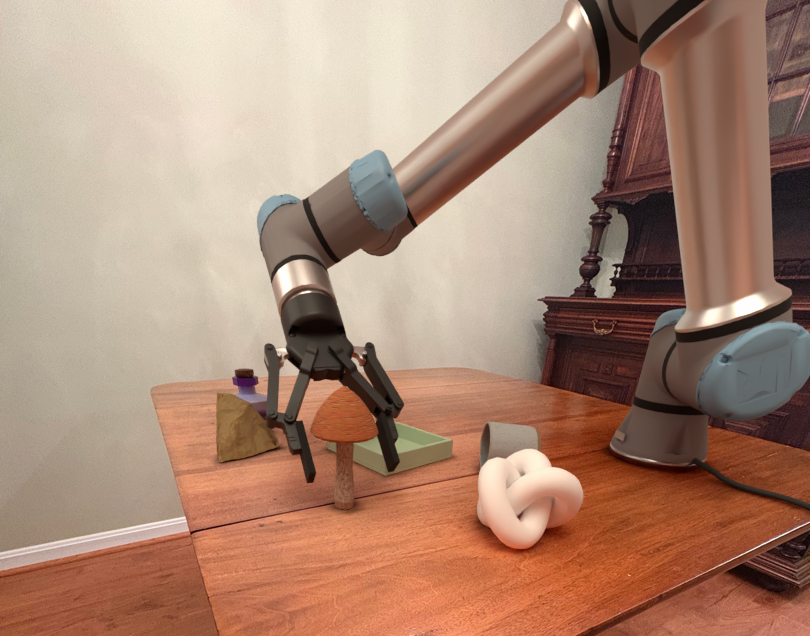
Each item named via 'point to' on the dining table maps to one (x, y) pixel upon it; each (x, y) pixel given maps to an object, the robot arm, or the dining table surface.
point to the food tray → (402, 450)
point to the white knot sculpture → (525, 497)
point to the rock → (240, 429)
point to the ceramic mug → (506, 440)
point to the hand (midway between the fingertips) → (354, 472)
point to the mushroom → (344, 436)
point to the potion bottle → (250, 390)
